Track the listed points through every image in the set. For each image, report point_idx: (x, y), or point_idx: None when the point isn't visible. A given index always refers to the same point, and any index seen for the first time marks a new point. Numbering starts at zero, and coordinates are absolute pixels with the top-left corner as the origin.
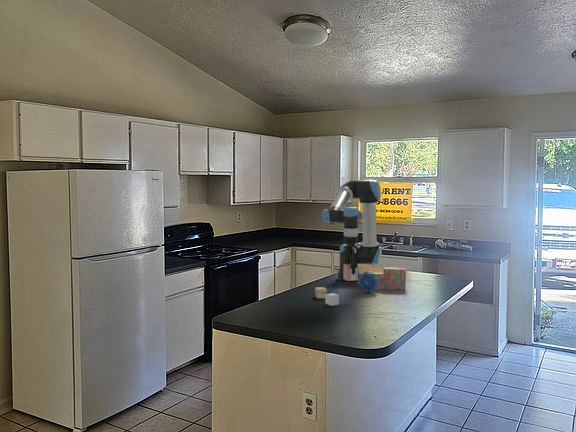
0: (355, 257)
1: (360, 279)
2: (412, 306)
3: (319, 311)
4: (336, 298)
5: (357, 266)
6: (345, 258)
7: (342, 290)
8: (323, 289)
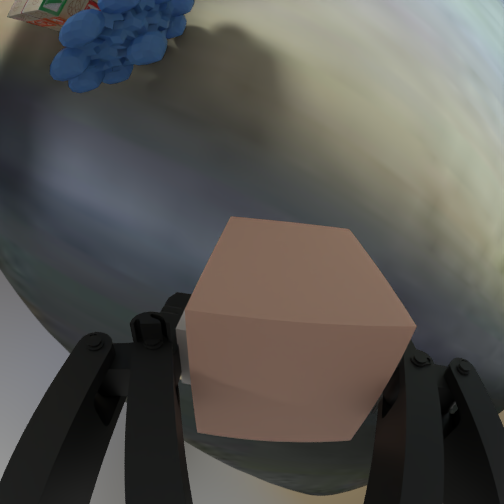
0: (497, 487)
1: (86, 78)
2: (493, 47)
3: None
4: None
5: (406, 324)
6: (101, 446)
7: (76, 175)
8: None
